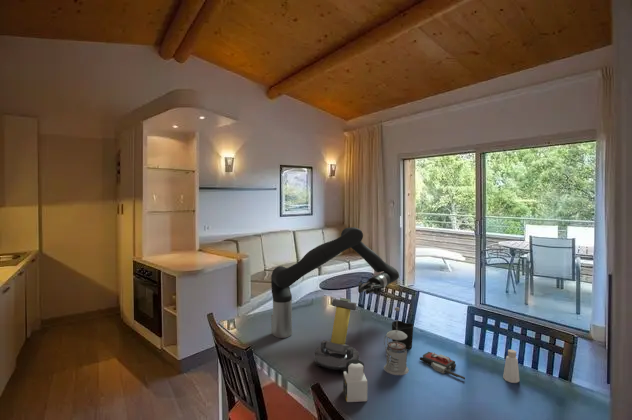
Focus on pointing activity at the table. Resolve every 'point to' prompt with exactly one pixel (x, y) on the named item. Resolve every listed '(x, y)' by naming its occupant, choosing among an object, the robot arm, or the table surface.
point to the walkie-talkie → (440, 363)
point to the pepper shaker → (511, 367)
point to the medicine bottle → (355, 382)
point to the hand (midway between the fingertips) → (363, 291)
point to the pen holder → (405, 328)
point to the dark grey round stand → (334, 357)
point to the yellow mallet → (340, 325)
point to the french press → (398, 359)
